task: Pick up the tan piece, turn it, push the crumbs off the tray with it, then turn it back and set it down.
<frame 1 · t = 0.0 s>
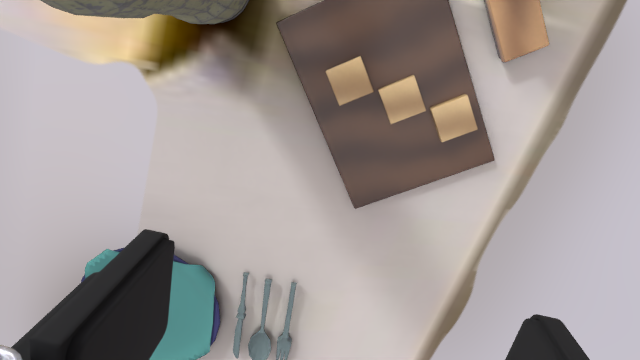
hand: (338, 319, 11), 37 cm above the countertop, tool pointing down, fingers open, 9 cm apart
crumb b: (401, 99, 44), point 1 cm above the countertop, touching tray
tray: (388, 92, 45), on the countertop
crumb a: (349, 80, 44), point 1 cm above the countertop, touching tray
cutlery set: (190, 307, 57), on the countertop
crumb c: (452, 117, 44), point 1 cm above the countertop, touching tray
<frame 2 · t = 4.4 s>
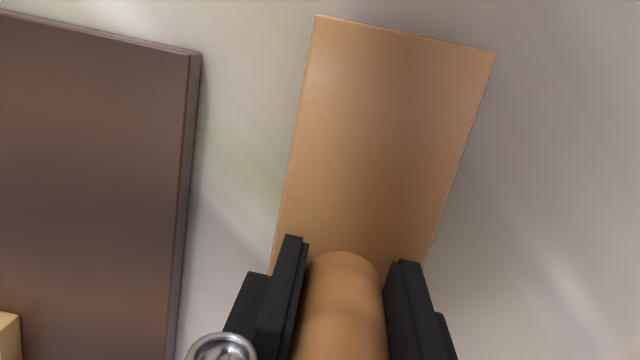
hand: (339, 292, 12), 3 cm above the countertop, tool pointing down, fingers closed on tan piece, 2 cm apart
tan piece: (342, 248, 14), on the countertop, touching gripper
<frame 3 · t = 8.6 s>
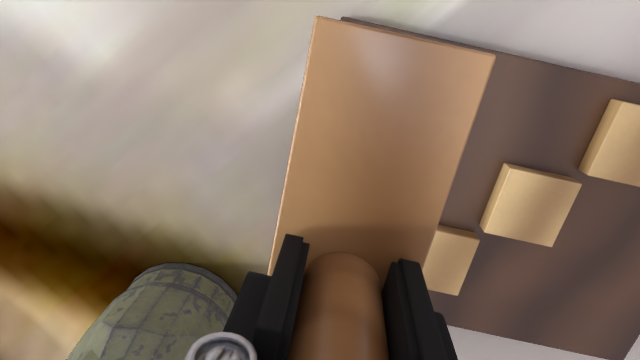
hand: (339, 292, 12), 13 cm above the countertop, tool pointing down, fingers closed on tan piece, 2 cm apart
crumb b: (524, 201, 23), point 1 cm above the countertop, touching tray
tray: (495, 206, 24), on the countertop
tan piece: (341, 249, 14), point 11 cm above the countertop, touching gripper
crumb a: (432, 253, 25), point 1 cm above the countertop, touching tray
crumb c: (629, 143, 22), point 1 cm above the countertop, touching tray
grey piece: (186, 312, 29), on the countertop
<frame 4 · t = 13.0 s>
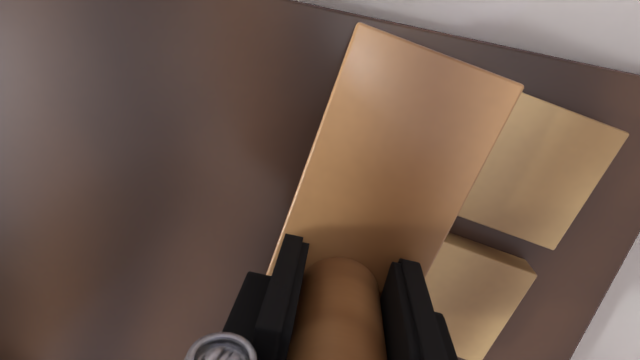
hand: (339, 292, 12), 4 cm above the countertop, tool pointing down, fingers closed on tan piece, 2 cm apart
crumb b: (446, 286, 14), point 1 cm above the countertop, touching tray
tray: (283, 244, 15), on the countertop
tan piece: (339, 254, 14), point 1 cm above the countertop, touching crumb a, crumb c, gripper
crumb c: (515, 162, 13), point 1 cm above the countertop, touching tan piece
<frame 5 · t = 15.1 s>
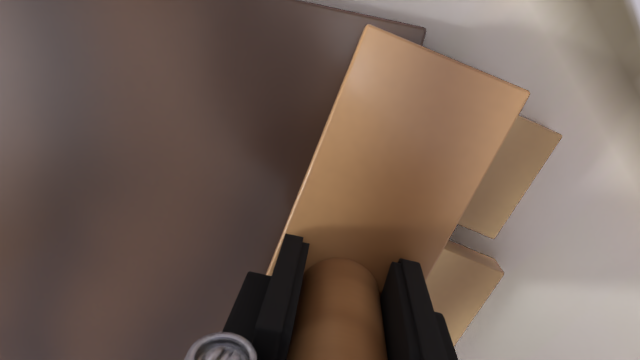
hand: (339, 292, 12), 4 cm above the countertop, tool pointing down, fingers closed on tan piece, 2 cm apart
crumb b: (423, 280, 16), on the countertop
tray: (67, 196, 15), on the countertop
tan piece: (339, 256, 14), point 1 cm above the countertop, touching gripper
crumb c: (464, 157, 14), on the countertop
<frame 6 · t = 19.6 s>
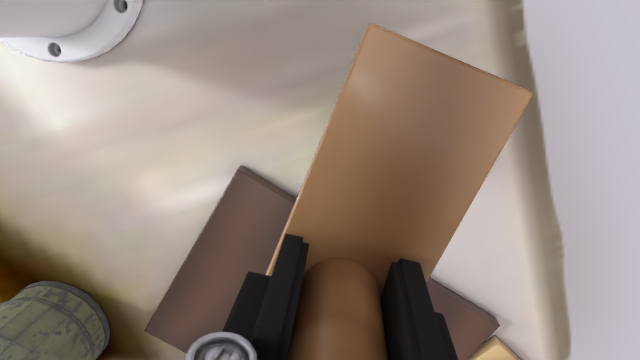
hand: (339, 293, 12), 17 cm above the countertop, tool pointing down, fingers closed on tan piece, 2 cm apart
tray: (315, 320, 33), on the countertop
tan piece: (340, 256, 14), point 15 cm above the countertop, touching gripper
grey piece: (64, 321, 35), on the countertop
when the fingers open (3 cm above the countertop, at t = 23.6 s): tan piece stays where it is, on the countertop.
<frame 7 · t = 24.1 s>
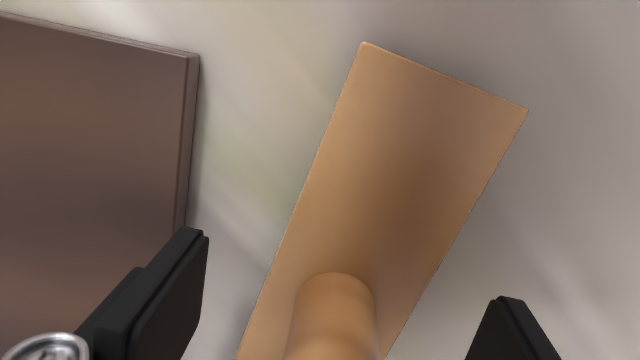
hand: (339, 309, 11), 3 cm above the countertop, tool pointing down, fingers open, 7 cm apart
tan piece: (337, 265, 14), on the countertop
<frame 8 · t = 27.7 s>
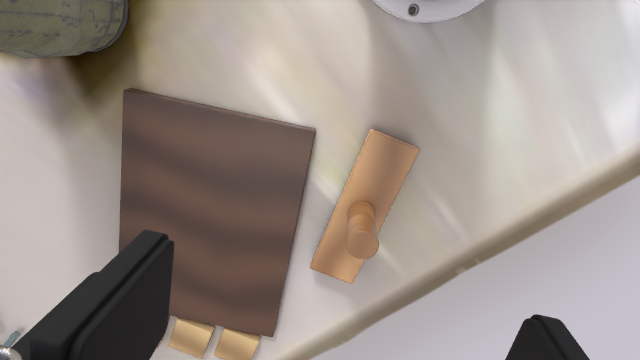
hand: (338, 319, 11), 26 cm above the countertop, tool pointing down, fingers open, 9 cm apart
crumb b: (192, 333, 45), on the countertop
tray: (209, 222, 40), on the countertop
tan piece: (360, 203, 38), on the countertop
crumb c: (238, 342, 45), on the countertop
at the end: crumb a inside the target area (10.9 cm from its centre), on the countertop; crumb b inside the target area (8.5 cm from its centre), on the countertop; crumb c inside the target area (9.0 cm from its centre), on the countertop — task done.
